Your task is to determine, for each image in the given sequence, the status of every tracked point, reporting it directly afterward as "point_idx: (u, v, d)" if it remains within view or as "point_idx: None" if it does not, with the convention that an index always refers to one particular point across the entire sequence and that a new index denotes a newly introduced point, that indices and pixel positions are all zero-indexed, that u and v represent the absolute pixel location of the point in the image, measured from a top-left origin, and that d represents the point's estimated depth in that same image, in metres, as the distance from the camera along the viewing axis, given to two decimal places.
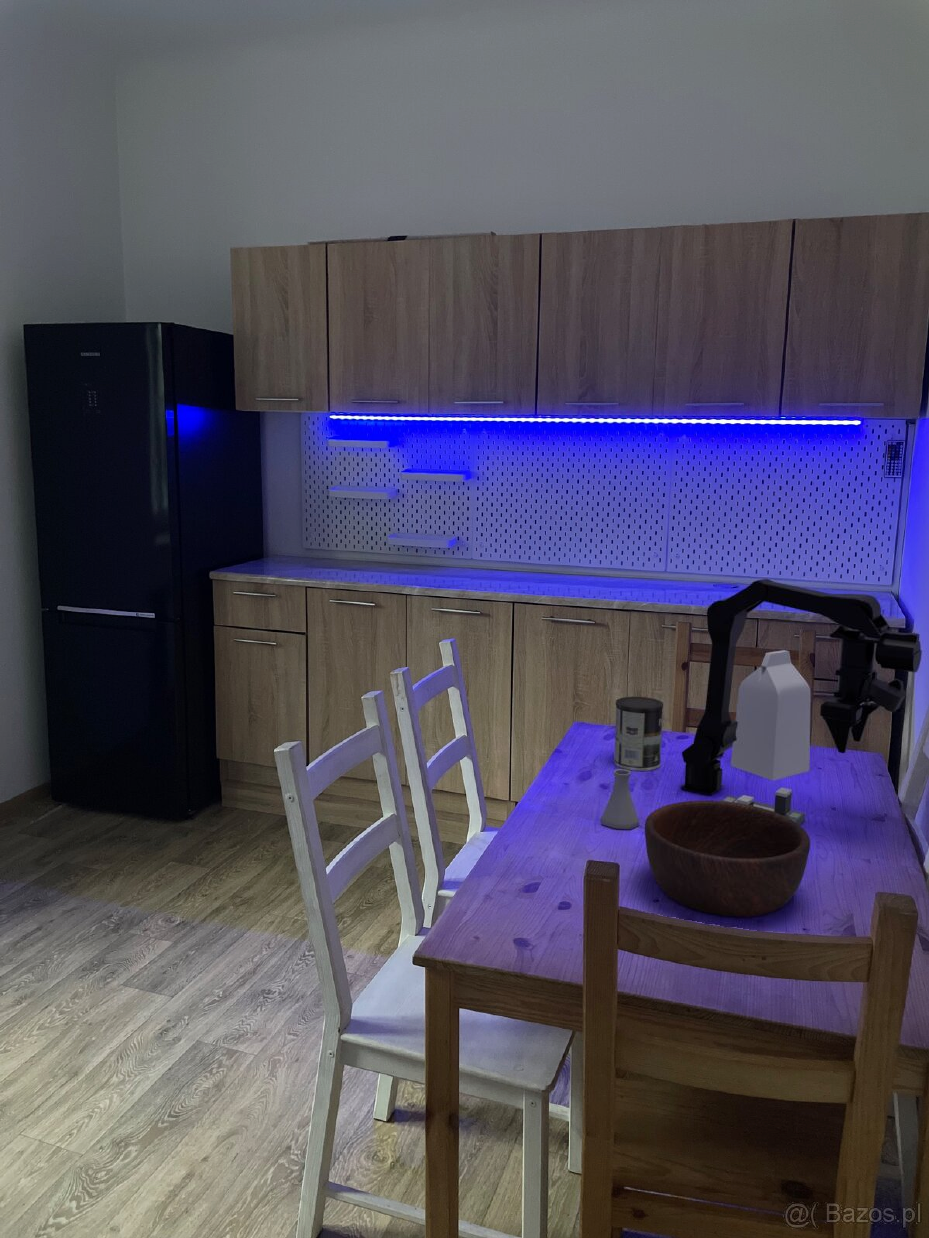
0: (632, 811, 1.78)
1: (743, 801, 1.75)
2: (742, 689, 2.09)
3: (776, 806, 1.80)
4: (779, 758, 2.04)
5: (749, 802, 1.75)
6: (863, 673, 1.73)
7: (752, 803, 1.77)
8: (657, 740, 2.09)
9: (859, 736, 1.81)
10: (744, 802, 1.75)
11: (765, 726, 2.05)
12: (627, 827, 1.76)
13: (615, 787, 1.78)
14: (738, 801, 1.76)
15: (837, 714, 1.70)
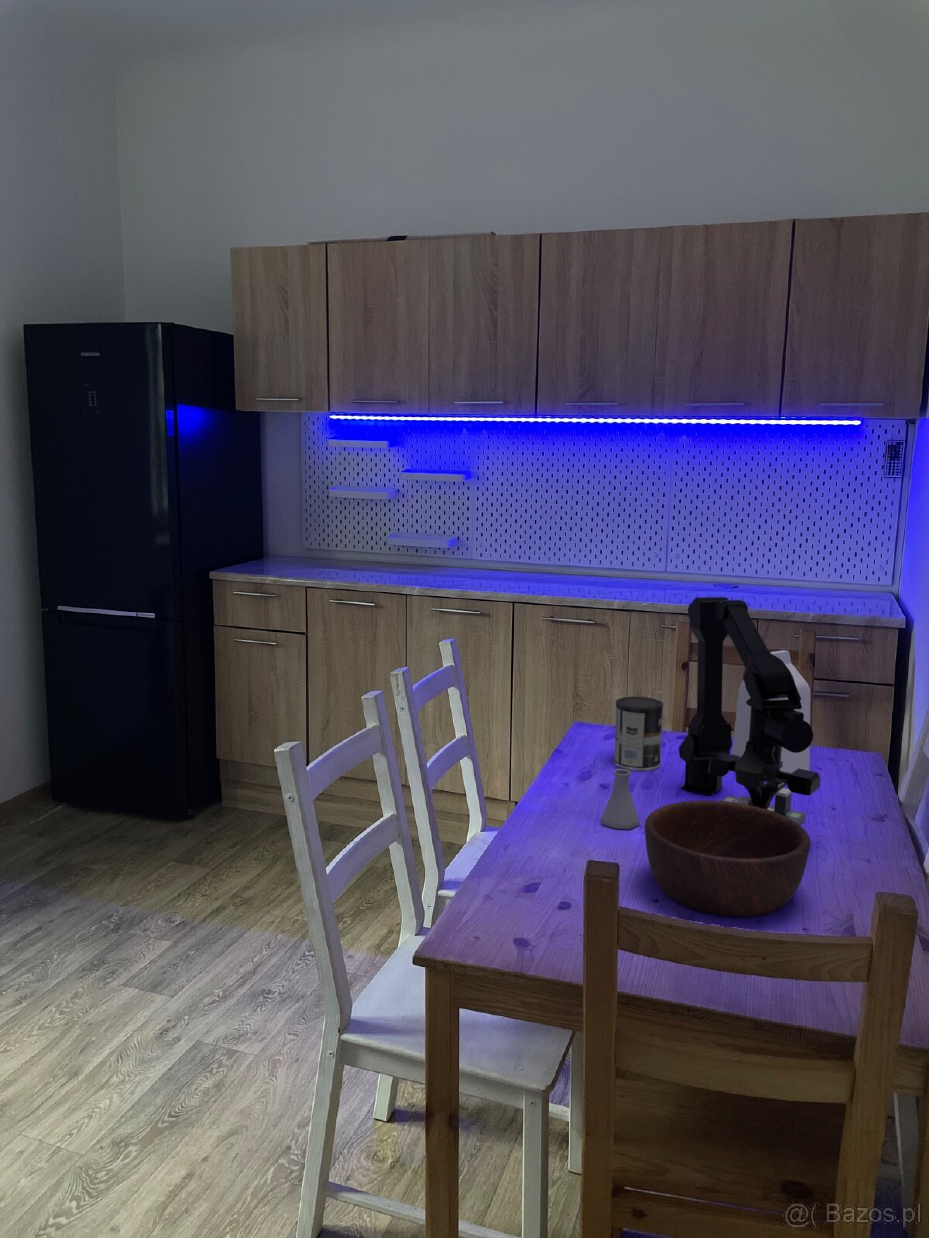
0: (632, 811, 1.78)
1: (743, 801, 1.75)
2: (742, 689, 2.09)
3: (776, 806, 1.80)
4: None
5: (749, 802, 1.75)
6: (749, 740, 1.73)
7: (752, 803, 1.77)
8: (657, 740, 2.09)
9: None
10: (744, 802, 1.75)
11: None
12: (627, 826, 1.76)
13: (615, 787, 1.78)
14: (738, 801, 1.76)
15: None
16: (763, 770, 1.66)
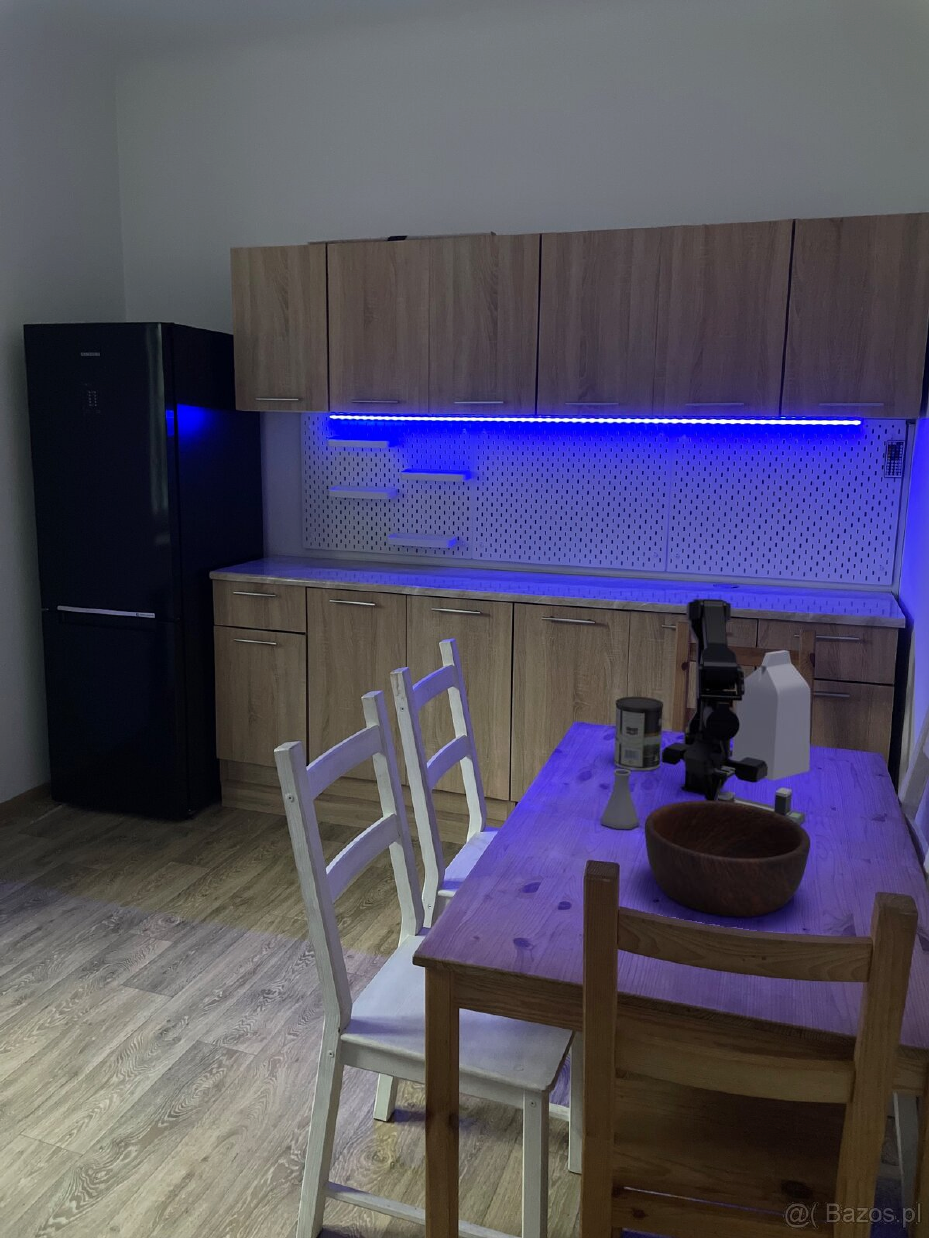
0: (632, 811, 1.78)
1: (724, 796, 1.77)
2: None
3: (776, 806, 1.80)
4: (779, 758, 2.04)
5: (729, 797, 1.78)
6: (699, 730, 1.78)
7: (733, 798, 1.79)
8: (657, 740, 2.09)
9: None
10: (725, 797, 1.77)
11: (765, 726, 2.05)
12: (627, 827, 1.76)
13: (615, 787, 1.78)
14: (719, 796, 1.78)
15: None
16: (710, 758, 1.72)
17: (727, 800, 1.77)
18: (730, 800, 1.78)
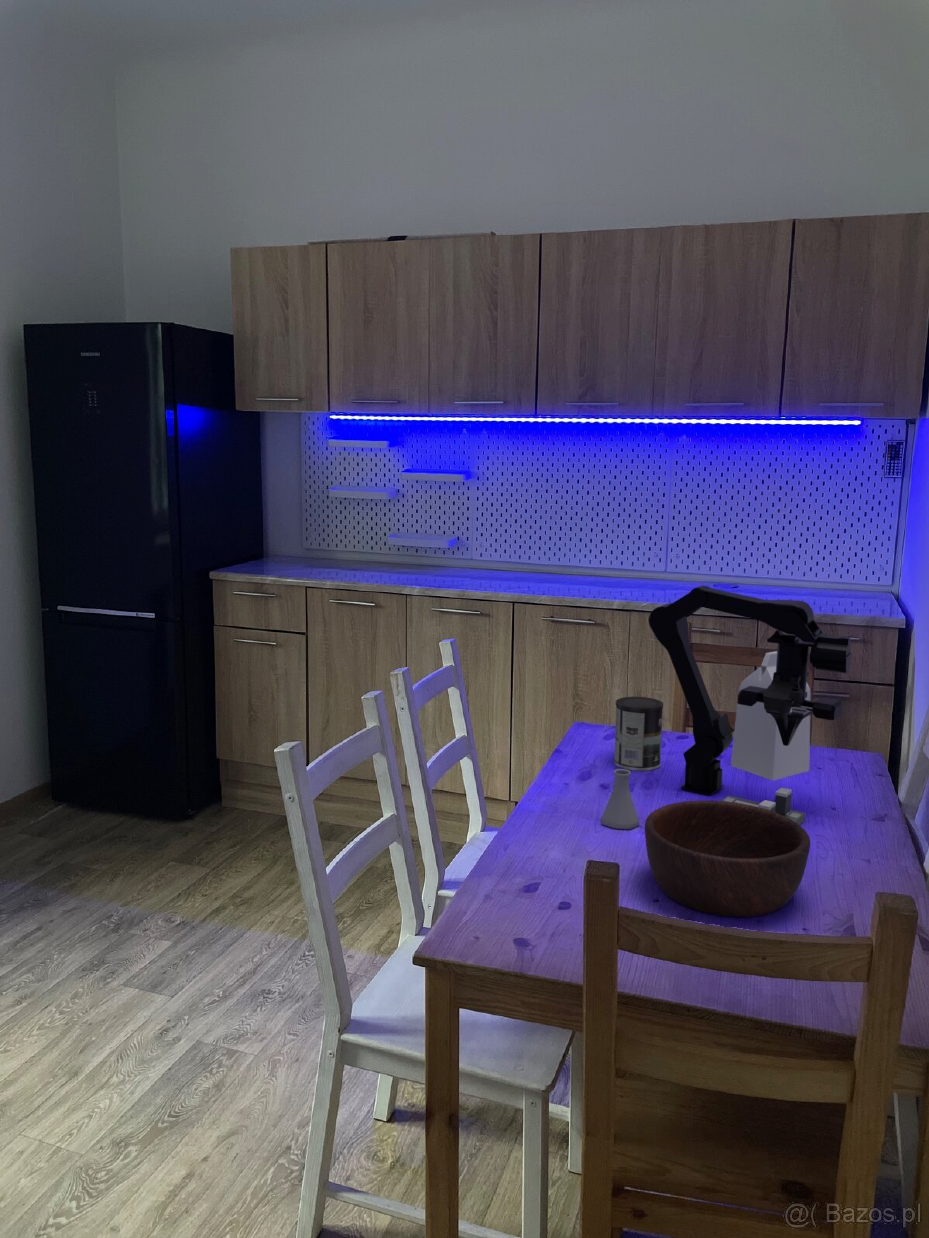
0: (632, 811, 1.77)
1: (765, 806, 1.73)
2: None
3: (776, 806, 1.80)
4: (779, 758, 2.04)
5: (771, 807, 1.73)
6: (776, 672, 1.85)
7: (774, 808, 1.74)
8: (657, 740, 2.09)
9: None
10: (766, 807, 1.73)
11: (765, 726, 2.05)
12: (627, 827, 1.76)
13: (615, 787, 1.78)
14: (760, 806, 1.73)
15: None
16: (790, 696, 1.79)
17: None
18: (771, 810, 1.73)
